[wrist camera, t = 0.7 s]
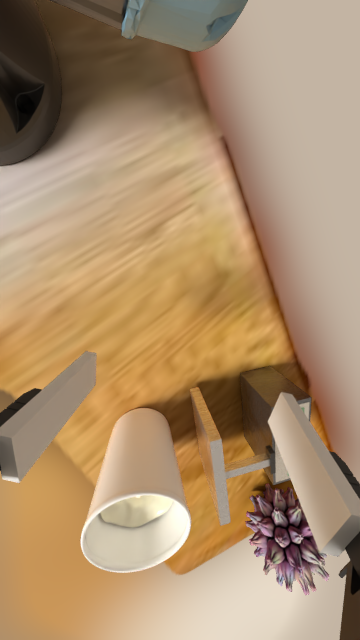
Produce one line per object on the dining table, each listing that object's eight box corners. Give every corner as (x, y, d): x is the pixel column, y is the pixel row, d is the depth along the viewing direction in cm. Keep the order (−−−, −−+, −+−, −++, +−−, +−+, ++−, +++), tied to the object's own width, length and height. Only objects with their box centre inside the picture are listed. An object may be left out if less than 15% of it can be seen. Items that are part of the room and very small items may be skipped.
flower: (257, 458, 34) (312, 551, 23) (302, 476, 38) (370, 566, 26) (221, 506, 36) (256, 616, 24) (268, 519, 39) (318, 622, 28)
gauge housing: (239, 372, 29) (272, 408, 22) (270, 365, 30) (312, 398, 22) (244, 436, 33) (274, 486, 25) (271, 428, 33) (309, 475, 26)
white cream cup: (163, 393, 28) (174, 477, 17) (181, 443, 31) (202, 545, 19) (96, 416, 27) (60, 522, 16) (121, 466, 30) (105, 587, 19)
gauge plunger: (189, 388, 27) (209, 442, 19) (238, 377, 28) (278, 423, 20) (199, 454, 31) (220, 525, 22) (243, 442, 32) (279, 506, 23)
